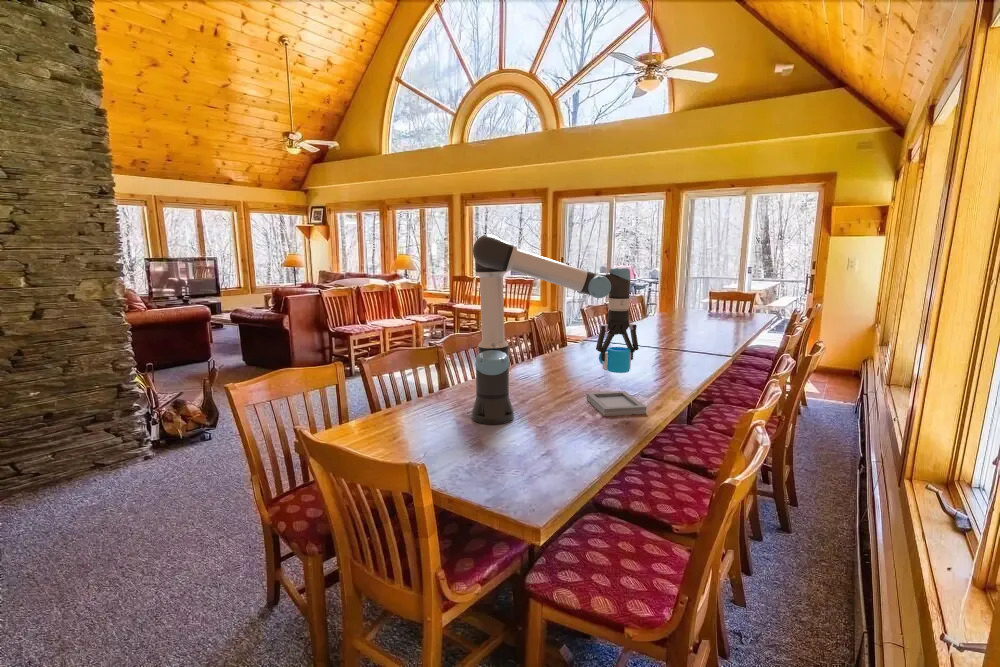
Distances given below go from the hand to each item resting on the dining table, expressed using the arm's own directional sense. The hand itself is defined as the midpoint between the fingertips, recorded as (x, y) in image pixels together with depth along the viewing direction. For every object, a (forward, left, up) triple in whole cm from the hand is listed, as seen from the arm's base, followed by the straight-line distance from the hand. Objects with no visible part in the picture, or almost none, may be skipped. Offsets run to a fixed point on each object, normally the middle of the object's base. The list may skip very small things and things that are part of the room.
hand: (616, 368), depth 187 cm
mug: (-1, 0, 0) cm, 1 cm away
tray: (0, 0, -15) cm, 15 cm away
